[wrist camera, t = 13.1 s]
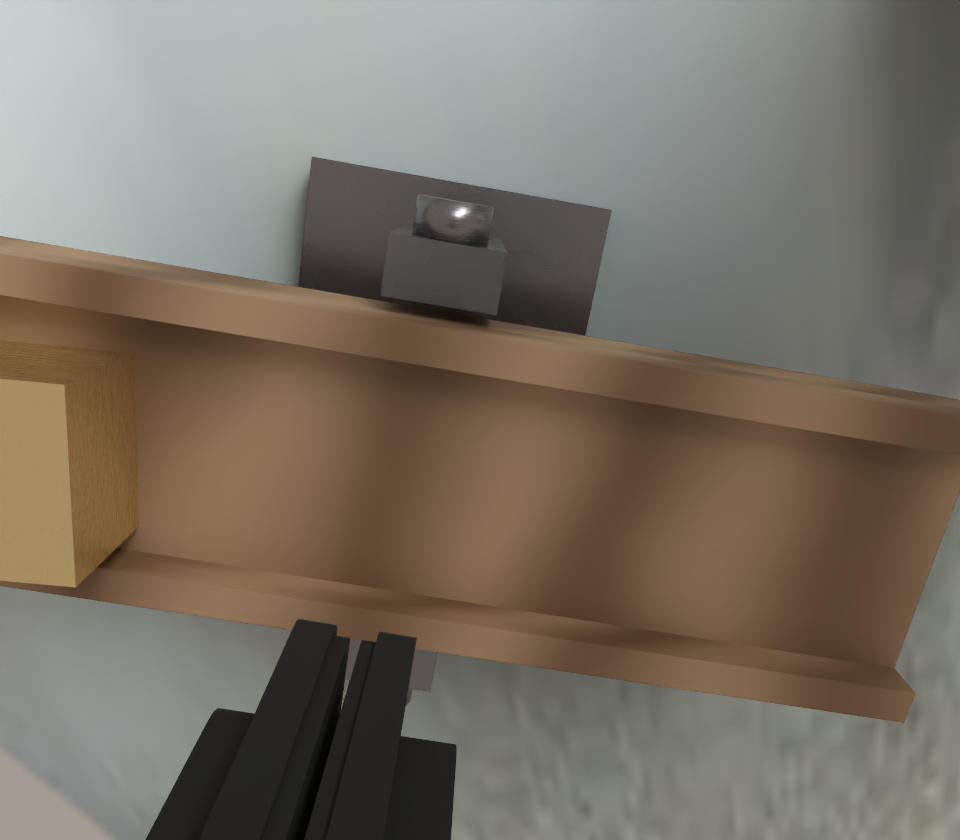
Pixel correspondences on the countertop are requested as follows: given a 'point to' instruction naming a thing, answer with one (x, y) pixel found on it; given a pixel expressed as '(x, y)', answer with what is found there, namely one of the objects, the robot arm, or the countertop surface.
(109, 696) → the countertop surface
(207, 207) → the countertop surface
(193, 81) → the countertop surface
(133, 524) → the block
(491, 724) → the countertop surface
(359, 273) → the pivot stand
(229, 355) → the balance beam
